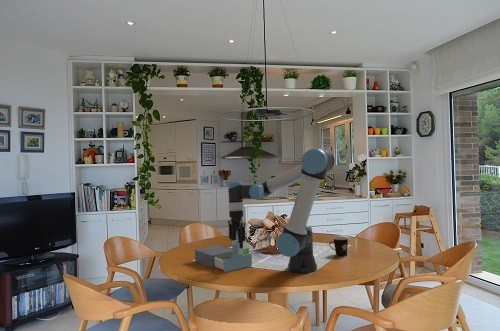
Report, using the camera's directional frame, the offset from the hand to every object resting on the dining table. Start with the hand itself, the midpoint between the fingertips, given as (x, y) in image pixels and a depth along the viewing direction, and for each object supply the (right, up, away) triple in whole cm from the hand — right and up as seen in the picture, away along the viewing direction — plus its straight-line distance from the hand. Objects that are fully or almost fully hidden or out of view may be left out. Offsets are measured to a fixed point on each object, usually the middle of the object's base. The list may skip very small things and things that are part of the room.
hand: (237, 253), depth 189 cm
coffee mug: (+60, -7, +23) cm, 65 cm away
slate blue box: (-13, -9, +17) cm, 23 cm away
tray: (-5, -9, +7) cm, 13 cm away
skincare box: (+2, -9, +32) cm, 33 cm away
